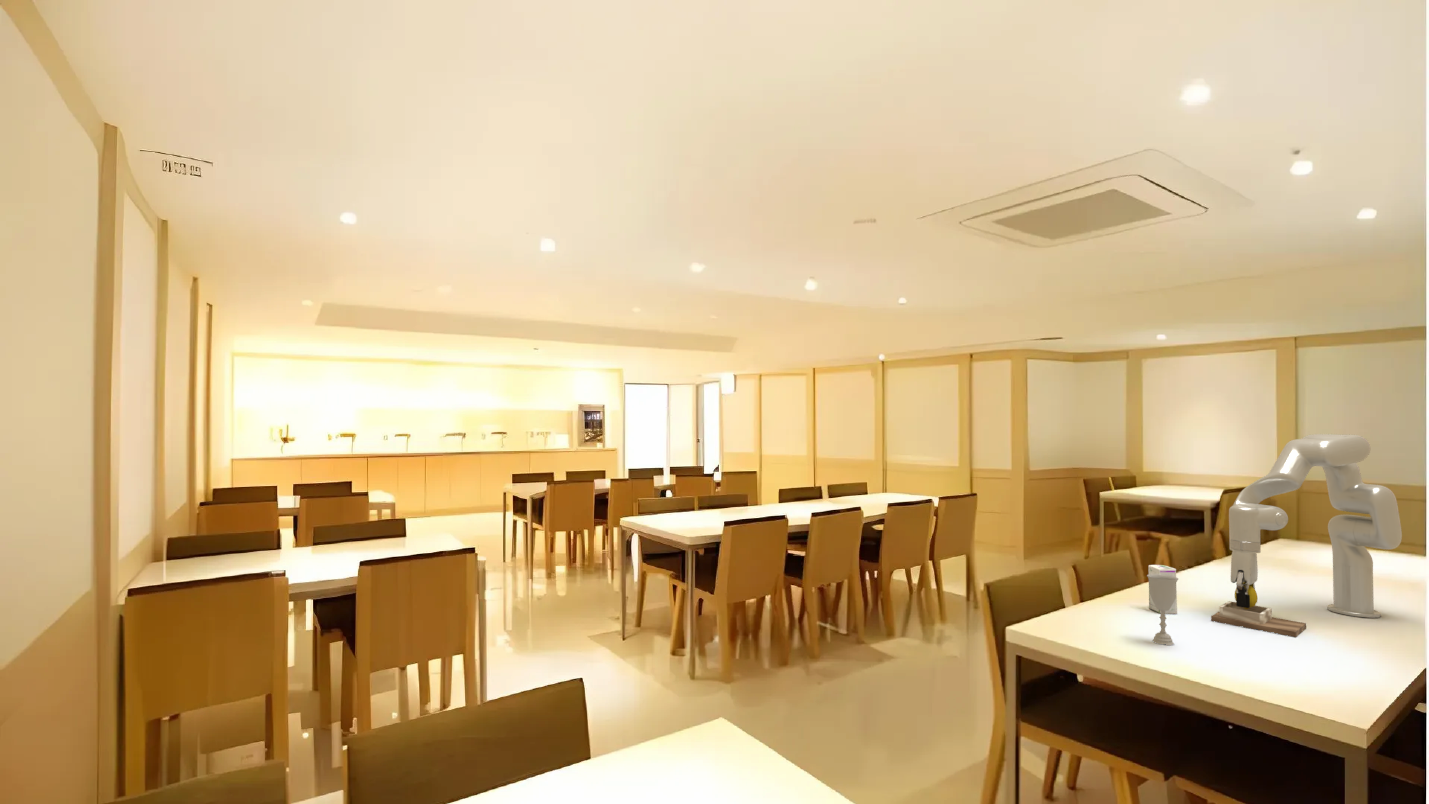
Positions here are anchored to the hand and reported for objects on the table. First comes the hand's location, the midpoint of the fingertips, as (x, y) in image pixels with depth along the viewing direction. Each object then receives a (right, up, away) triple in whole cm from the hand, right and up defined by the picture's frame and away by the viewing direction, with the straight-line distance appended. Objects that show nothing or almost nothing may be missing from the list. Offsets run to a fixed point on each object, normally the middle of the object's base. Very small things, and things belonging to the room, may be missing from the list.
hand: (1245, 604), depth 206 cm
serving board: (+2, -5, -3) cm, 6 cm away
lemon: (0, -2, 0) cm, 2 cm away
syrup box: (-18, -6, +11) cm, 22 cm away
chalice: (-39, -4, -21) cm, 44 cm away
